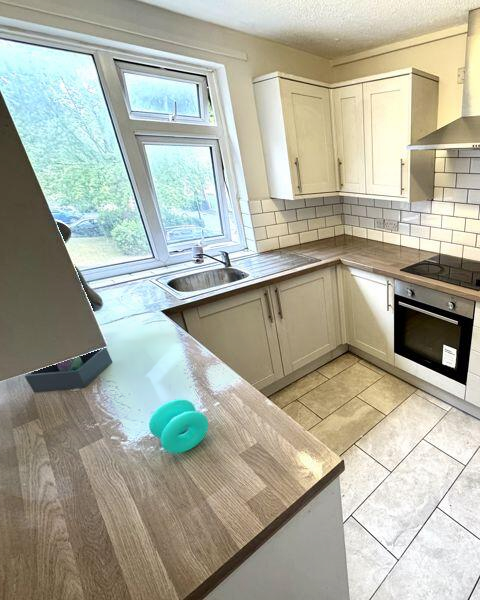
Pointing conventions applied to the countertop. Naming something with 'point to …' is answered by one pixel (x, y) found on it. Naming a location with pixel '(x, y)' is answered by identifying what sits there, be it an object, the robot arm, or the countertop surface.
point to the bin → (70, 373)
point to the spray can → (70, 364)
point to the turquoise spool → (178, 425)
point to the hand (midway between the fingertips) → (56, 344)
